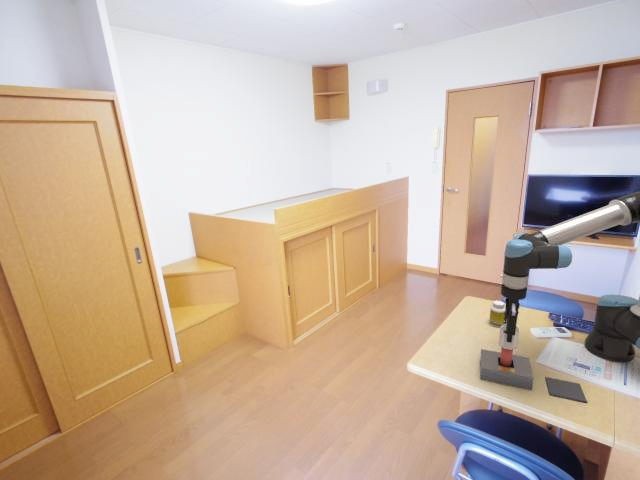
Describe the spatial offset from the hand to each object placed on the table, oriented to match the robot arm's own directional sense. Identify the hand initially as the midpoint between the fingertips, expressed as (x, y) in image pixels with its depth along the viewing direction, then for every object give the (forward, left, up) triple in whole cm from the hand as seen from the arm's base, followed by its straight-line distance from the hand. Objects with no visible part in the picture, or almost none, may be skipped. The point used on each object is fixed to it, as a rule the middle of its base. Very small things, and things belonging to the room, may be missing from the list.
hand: (507, 345), depth 119 cm
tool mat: (-18, +2, -12) cm, 22 cm away
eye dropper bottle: (0, 0, 0) cm, 0 cm away
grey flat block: (0, 0, -12) cm, 12 cm away
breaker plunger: (0, 0, -8) cm, 8 cm away
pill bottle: (+1, -37, -12) cm, 39 cm away
